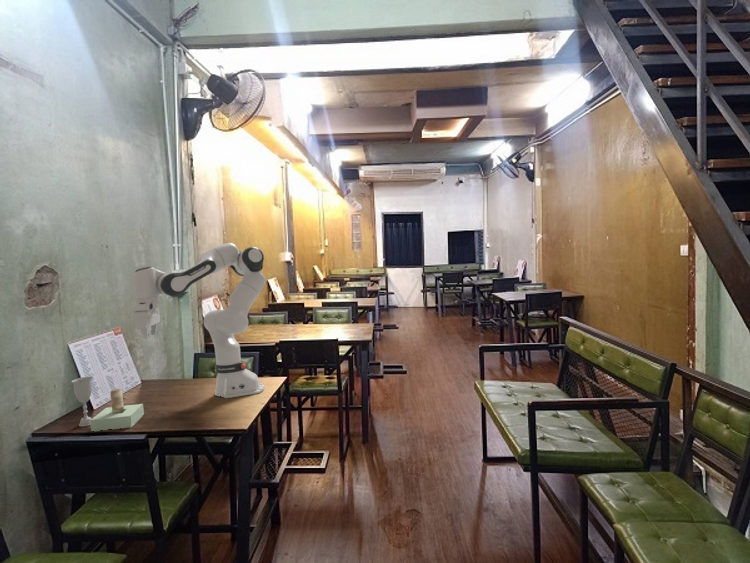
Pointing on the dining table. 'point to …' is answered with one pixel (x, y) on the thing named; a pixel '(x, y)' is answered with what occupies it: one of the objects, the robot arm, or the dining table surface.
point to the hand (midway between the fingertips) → (150, 336)
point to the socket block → (117, 418)
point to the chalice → (83, 396)
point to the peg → (117, 401)
